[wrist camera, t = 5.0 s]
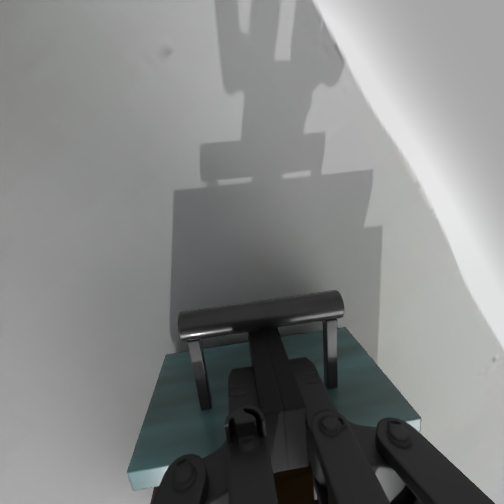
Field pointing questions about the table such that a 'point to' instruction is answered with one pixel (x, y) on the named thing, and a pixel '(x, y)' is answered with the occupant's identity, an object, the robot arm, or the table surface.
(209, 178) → the table surface
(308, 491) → the drawer
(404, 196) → the table surface
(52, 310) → the table surface
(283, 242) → the table surface
